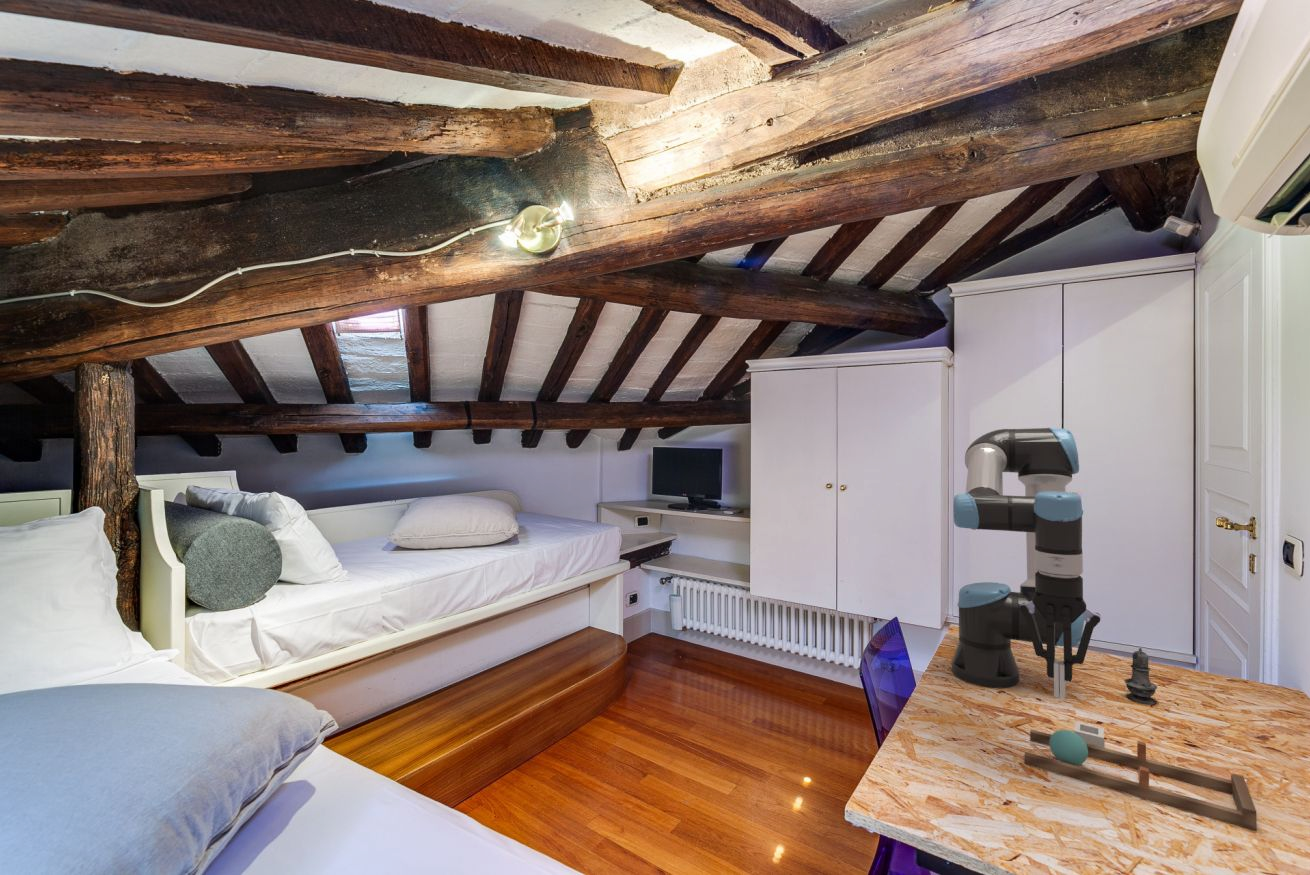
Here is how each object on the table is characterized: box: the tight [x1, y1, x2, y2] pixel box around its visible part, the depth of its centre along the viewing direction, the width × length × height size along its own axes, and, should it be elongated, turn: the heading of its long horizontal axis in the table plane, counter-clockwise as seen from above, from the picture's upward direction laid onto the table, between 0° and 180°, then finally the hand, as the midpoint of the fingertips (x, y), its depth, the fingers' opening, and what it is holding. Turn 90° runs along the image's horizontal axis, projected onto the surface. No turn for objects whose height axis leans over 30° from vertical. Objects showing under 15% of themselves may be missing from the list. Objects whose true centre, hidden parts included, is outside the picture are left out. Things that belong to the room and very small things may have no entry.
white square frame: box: [1073, 720, 1105, 748], centre depth 119 cm, size 5×5×2 cm
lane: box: [1023, 729, 1258, 831], centre depth 106 cm, size 31×11×5 cm, turn 52°
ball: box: [1049, 729, 1089, 766], centre depth 111 cm, size 6×6×6 cm
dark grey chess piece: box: [1124, 647, 1158, 705], centre depth 135 cm, size 6×6×12 cm
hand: (1059, 695), depth 112 cm, fingers closed
